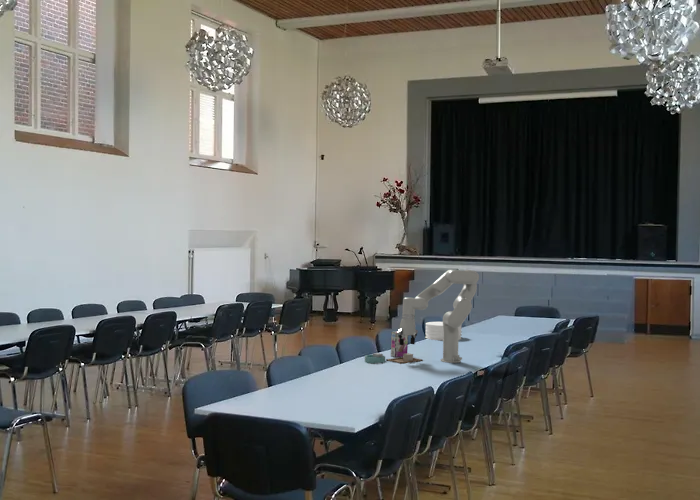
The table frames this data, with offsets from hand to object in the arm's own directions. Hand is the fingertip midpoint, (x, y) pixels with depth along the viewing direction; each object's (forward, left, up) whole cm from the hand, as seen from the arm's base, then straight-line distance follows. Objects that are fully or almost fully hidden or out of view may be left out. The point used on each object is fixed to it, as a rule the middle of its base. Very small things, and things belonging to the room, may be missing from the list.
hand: (407, 344), depth 470 cm
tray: (+3, -1, -11) cm, 11 cm away
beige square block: (0, -1, -11) cm, 11 cm away
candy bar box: (+19, -12, -11) cm, 25 cm away
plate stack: (+65, -105, -11) cm, 124 cm away
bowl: (+13, +15, -11) cm, 23 cm away
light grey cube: (+10, +15, -10) cm, 21 cm away
